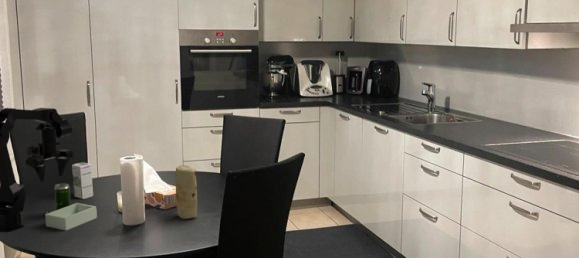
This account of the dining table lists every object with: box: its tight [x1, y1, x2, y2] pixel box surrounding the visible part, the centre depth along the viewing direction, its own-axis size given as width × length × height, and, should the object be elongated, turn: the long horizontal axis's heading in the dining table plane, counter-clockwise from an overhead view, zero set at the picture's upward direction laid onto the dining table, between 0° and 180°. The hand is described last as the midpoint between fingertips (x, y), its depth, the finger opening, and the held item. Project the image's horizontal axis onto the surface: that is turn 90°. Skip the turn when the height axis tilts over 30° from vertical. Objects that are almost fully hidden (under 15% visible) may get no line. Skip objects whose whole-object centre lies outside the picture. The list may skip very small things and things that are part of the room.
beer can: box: [54, 182, 72, 211], centre depth 214 cm, size 5×5×12 cm
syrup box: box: [71, 161, 94, 200], centre depth 237 cm, size 6×6×14 cm
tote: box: [44, 202, 98, 231], centre depth 207 cm, size 15×10×4 cm, turn 155°
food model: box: [175, 164, 198, 220], centre depth 212 cm, size 10×7×20 cm
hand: (51, 178), depth 219 cm, fingers open, 9 cm apart
